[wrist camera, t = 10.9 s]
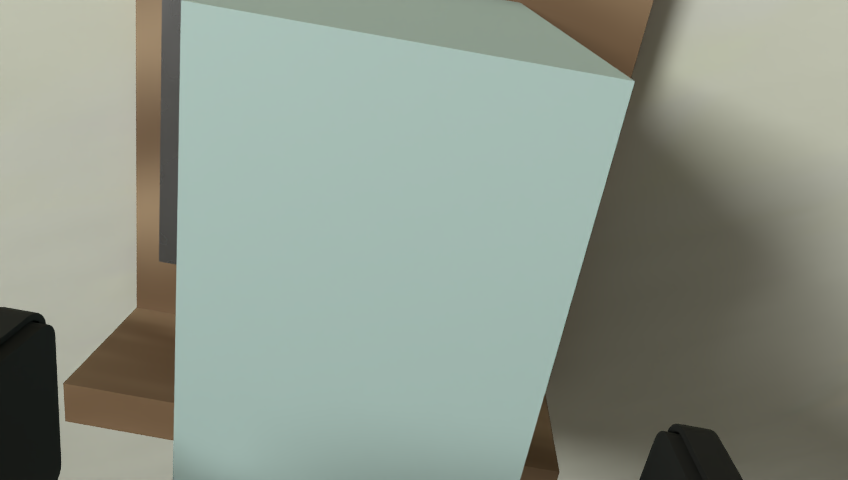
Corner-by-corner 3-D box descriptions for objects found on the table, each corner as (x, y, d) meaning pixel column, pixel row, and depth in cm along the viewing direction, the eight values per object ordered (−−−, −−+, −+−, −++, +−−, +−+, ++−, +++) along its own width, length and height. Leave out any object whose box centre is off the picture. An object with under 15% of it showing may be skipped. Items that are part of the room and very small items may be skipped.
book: (451, 333, 25) (430, 790, 11) (334, 312, 25) (168, 745, 11) (520, 2, 20) (635, 80, 6) (377, -24, 20) (181, 0, 6)
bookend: (293, 277, 24) (241, 368, 19) (165, 254, 24) (77, 339, 19) (321, -5, 20) (268, 7, 15) (170, -33, 20) (60, -32, 15)
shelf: (530, 389, 27) (548, 507, 21) (153, 321, 27) (65, 421, 21) (654, -48, 21) (729, -53, 15) (157, -140, 21) (31, -184, 15)
